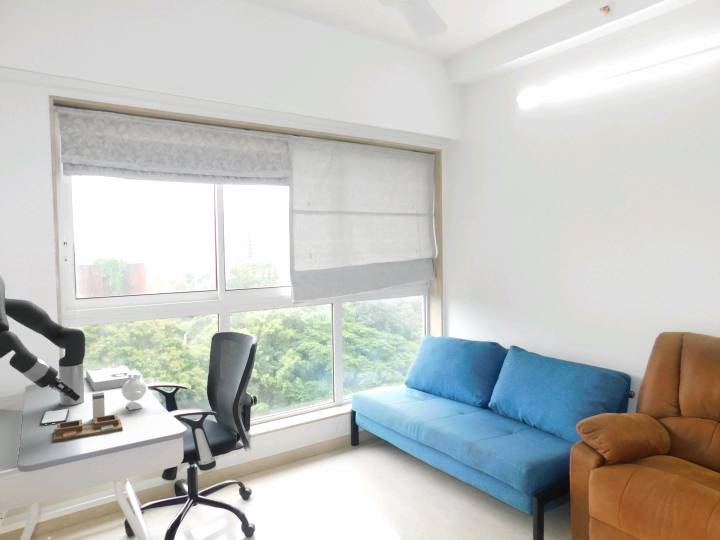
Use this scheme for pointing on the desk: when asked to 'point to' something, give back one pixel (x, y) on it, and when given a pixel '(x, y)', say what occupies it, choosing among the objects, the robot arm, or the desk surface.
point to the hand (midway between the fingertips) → (73, 396)
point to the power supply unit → (108, 377)
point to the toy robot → (134, 391)
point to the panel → (87, 428)
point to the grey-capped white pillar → (98, 405)
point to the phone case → (55, 416)
